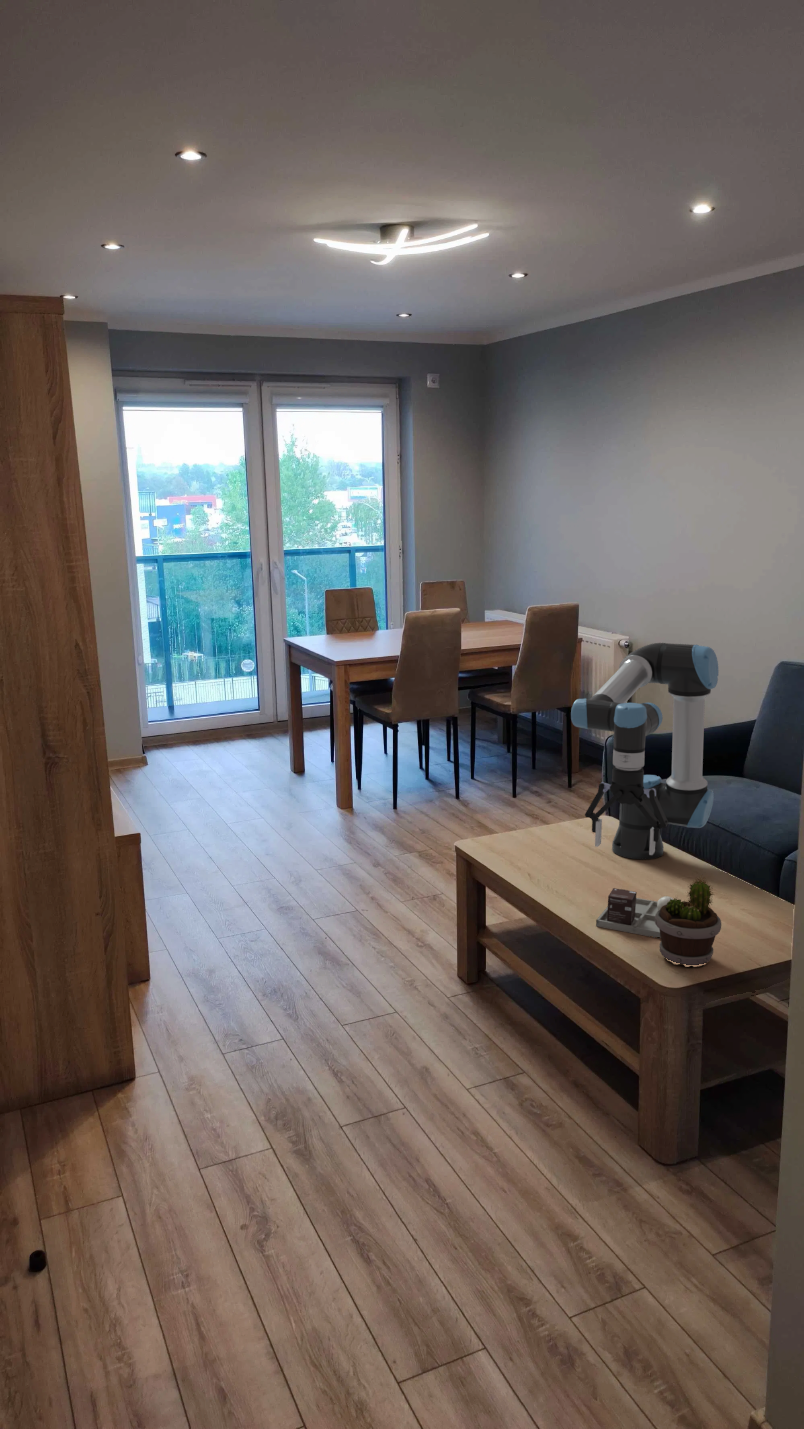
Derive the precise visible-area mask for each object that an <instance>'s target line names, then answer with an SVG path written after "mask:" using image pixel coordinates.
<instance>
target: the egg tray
mask: <svg viewBox="0 0 804 1429" xmlns="http://www.w3.org/2000/svg"><path fill="white" fill-rule="evenodd" d="M657 902H658V900H656V901H655V900H651V899H646V898H639V897H636V909H635V918H634V921H633V922H632V924H631V926H630V925H625V924H619V923H614V922H609V921H607V911H608V905H607V907H605V908H604V910H603V911H602V913H600V915H599V916H598V917H597V919H596V922H595V927H599V928H604V929H609V930H614V931H619V932H620V931H621V932H625V933H630V934H635V935H640V936H646V937H650V936H653V937H652V938H655V937H660V929H659V928H658V927H657V926H656V924H655V915H656V913H657V912H658V908H657ZM660 938H661V937H660ZM660 938H659V939H660Z"/></svg>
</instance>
